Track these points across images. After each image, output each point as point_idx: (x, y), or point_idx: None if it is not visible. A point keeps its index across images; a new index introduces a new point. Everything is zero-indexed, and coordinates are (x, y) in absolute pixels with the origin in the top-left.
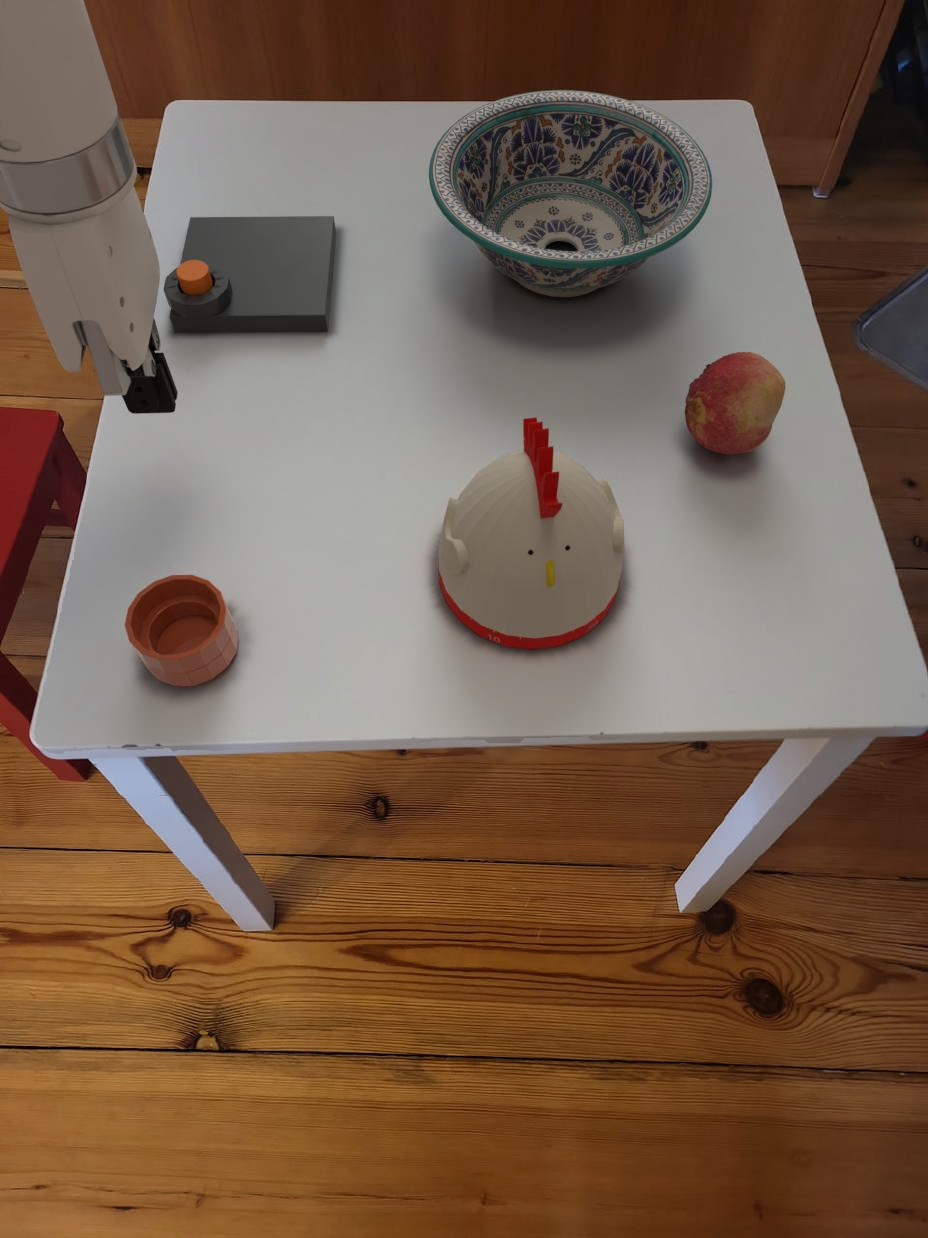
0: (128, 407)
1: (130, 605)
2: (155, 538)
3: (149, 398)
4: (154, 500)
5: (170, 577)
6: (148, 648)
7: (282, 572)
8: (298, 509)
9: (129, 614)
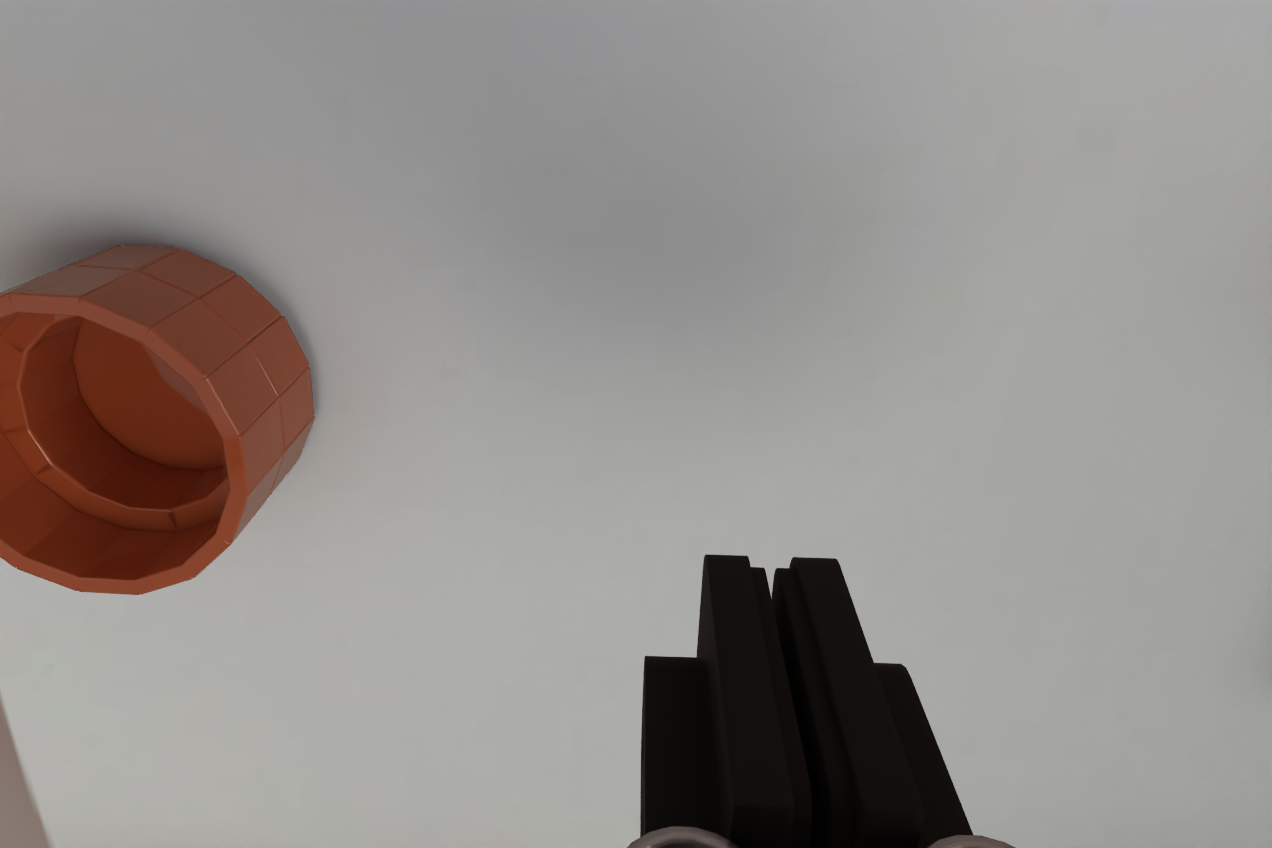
0: (708, 575)
1: (91, 305)
2: (583, 230)
3: (641, 799)
4: (747, 211)
5: (228, 428)
6: (45, 316)
7: (451, 588)
8: (664, 624)
9: (51, 306)
